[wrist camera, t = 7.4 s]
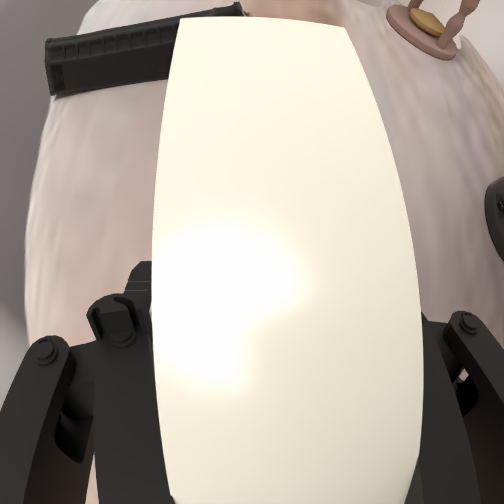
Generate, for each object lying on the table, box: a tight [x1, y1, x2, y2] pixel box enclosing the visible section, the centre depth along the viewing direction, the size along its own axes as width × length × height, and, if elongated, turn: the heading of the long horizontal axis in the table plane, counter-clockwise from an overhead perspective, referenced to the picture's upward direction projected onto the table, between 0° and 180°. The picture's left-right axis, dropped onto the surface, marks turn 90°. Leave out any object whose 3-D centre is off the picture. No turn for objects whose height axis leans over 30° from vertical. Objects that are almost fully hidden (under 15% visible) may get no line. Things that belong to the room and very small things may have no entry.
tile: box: [152, 17, 423, 504], centre depth 10 cm, size 13×4×12 cm, turn 3°
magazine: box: [45, 2, 253, 96], centre depth 30 cm, size 17×3×30 cm
